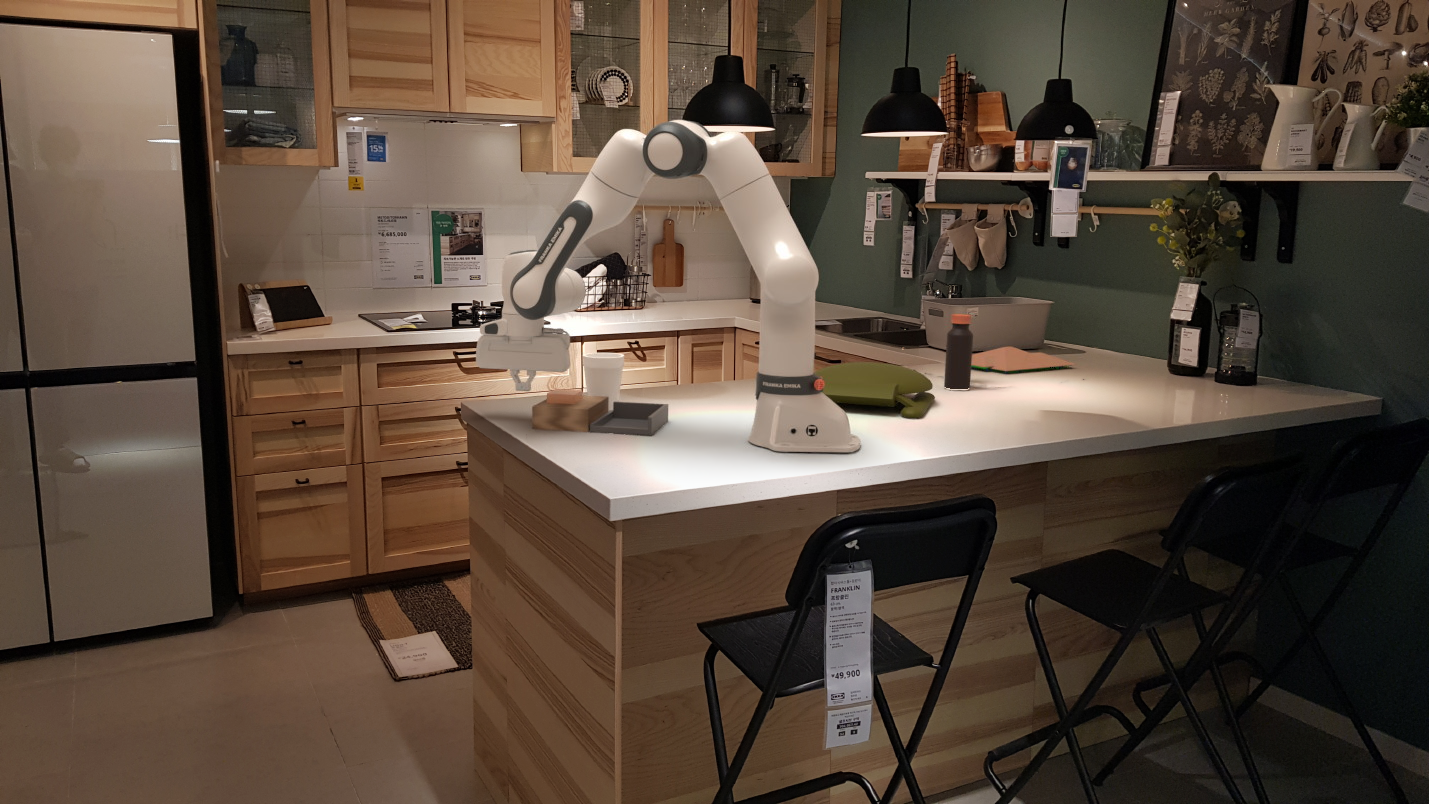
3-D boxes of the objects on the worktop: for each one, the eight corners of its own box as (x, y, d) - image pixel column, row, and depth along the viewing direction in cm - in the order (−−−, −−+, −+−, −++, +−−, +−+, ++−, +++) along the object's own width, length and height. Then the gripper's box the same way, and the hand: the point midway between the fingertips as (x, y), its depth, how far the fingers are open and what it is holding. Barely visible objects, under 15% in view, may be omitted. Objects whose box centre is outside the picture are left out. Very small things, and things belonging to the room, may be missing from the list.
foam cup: (586, 415, 241) (586, 358, 239) (579, 408, 250) (579, 353, 248) (627, 414, 244) (628, 357, 242) (619, 407, 253) (620, 352, 251)
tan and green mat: (940, 371, 324) (942, 345, 323) (1016, 365, 342) (1017, 339, 340) (998, 382, 305) (1000, 354, 304) (1075, 375, 323) (1077, 348, 322)
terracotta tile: (582, 399, 234) (582, 390, 233) (574, 404, 228) (574, 394, 227) (555, 398, 235) (555, 389, 234) (546, 402, 229) (546, 393, 228)
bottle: (972, 391, 285) (976, 316, 282) (946, 391, 285) (950, 315, 282) (966, 387, 292) (971, 314, 289) (941, 387, 292) (946, 313, 289)
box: (668, 422, 236) (668, 404, 236) (651, 436, 221) (651, 417, 220) (610, 419, 238) (610, 401, 238) (590, 433, 223) (590, 414, 222)
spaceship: (921, 421, 245) (923, 379, 244) (789, 411, 254) (791, 370, 253) (938, 397, 278) (940, 360, 276) (821, 389, 287) (822, 353, 286)
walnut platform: (608, 418, 238) (608, 396, 238) (587, 433, 223) (587, 409, 222) (556, 416, 240) (556, 394, 240) (532, 430, 225) (532, 406, 224)
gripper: (574, 327, 231) (574, 390, 234) (483, 323, 234) (484, 385, 237) (565, 330, 225) (565, 395, 227) (472, 326, 228) (473, 390, 231)
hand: (523, 390), depth 232 cm, fingers closed
